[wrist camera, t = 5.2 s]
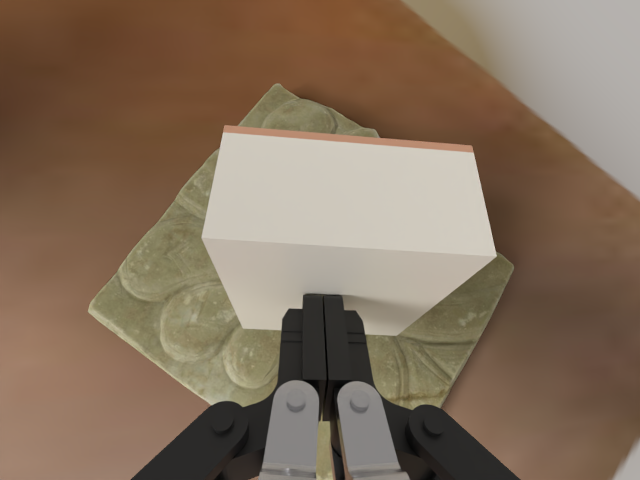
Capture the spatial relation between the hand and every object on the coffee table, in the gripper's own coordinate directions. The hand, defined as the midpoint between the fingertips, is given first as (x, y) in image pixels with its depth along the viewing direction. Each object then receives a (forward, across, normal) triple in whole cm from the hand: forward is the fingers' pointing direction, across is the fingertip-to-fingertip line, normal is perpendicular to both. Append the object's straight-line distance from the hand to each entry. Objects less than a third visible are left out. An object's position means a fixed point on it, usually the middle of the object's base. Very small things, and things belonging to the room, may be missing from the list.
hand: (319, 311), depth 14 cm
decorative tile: (+8, -1, +6) cm, 10 cm away
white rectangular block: (+4, 0, +3) cm, 6 cm away
